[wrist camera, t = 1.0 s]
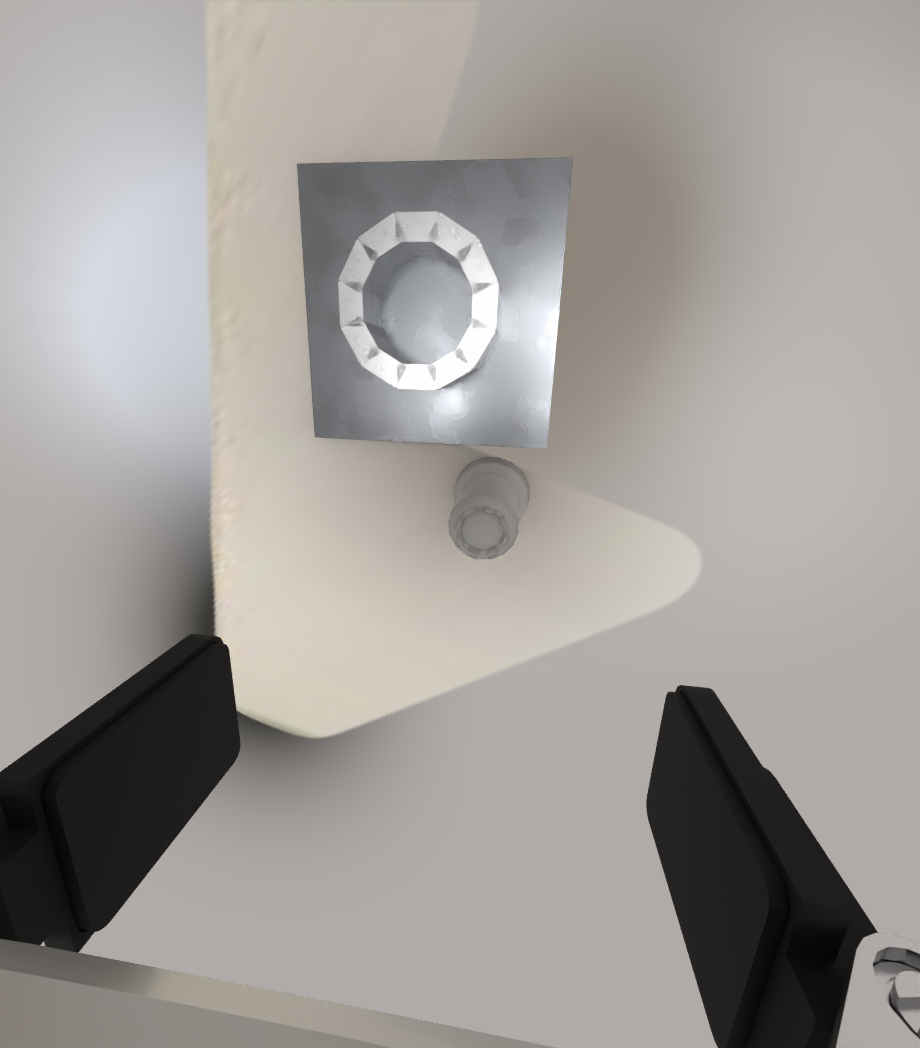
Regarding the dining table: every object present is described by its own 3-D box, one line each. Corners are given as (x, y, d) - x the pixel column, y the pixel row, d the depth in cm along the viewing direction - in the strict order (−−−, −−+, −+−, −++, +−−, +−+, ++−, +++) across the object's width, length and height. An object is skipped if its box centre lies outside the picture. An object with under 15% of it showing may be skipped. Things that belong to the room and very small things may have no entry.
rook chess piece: (504, 539, 29) (497, 596, 21) (443, 503, 28) (414, 547, 21) (543, 480, 27) (552, 518, 20) (479, 441, 27) (463, 465, 19)
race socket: (301, 167, 24) (266, 133, 21) (571, 162, 22) (580, 124, 19) (318, 436, 28) (291, 443, 25) (546, 447, 27) (549, 457, 23)
